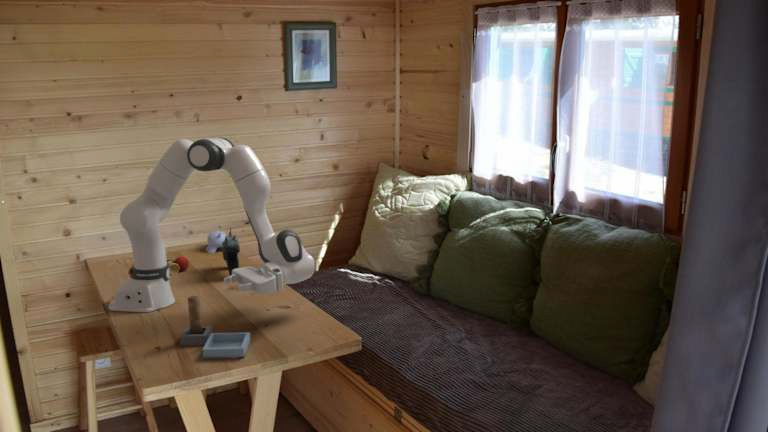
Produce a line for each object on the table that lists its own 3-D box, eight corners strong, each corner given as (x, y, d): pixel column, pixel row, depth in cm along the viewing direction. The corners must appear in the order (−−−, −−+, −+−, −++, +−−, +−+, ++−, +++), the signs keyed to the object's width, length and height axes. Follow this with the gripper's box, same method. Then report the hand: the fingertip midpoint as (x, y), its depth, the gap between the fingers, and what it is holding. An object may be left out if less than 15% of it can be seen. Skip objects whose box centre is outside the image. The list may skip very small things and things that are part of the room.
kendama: (150, 283, 280) (193, 269, 290) (145, 268, 279) (189, 254, 289) (145, 282, 287) (187, 267, 296) (140, 267, 286) (183, 253, 295)
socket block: (181, 345, 218) (180, 336, 217) (187, 335, 226) (186, 326, 225) (207, 344, 218) (206, 335, 217) (212, 334, 226) (211, 325, 225)
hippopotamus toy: (226, 243, 330) (225, 224, 328) (233, 252, 317) (232, 231, 315) (203, 246, 326) (201, 226, 324) (209, 255, 313) (207, 234, 310)
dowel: (189, 342, 220) (186, 300, 217) (192, 337, 224) (189, 296, 220) (201, 342, 220) (198, 299, 217) (204, 337, 224) (200, 295, 220)
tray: (203, 358, 209) (202, 349, 208) (211, 342, 220) (211, 333, 219) (244, 357, 209) (243, 348, 208) (250, 341, 220) (250, 332, 220)
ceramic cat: (242, 280, 278) (239, 231, 273) (225, 282, 276) (222, 232, 271) (238, 266, 296) (234, 219, 292) (222, 267, 294) (218, 221, 290)
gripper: (254, 259, 241) (216, 268, 233) (284, 273, 225) (244, 283, 217) (256, 277, 242) (218, 286, 234) (285, 292, 226) (245, 302, 218)
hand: (230, 284), depth 225 cm, fingers open, 8 cm apart
